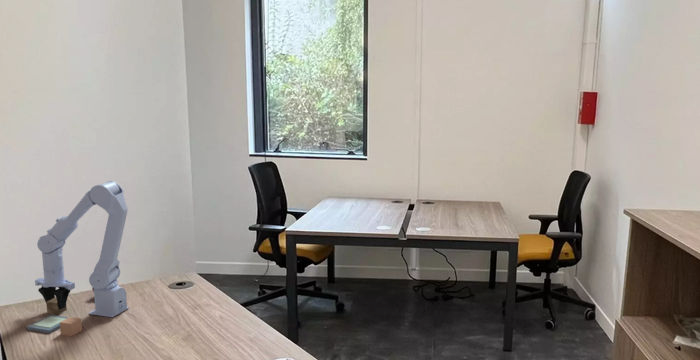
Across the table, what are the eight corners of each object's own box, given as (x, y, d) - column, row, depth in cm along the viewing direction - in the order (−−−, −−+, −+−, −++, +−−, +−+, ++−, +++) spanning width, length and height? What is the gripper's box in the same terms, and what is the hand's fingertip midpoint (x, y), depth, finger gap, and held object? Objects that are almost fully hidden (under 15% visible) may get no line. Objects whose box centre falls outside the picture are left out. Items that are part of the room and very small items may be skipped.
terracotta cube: (82, 330, 149) (81, 318, 149) (71, 336, 146) (70, 323, 145) (71, 328, 150) (70, 316, 150) (60, 334, 147) (59, 322, 146)
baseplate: (74, 321, 156) (73, 317, 155) (50, 333, 147) (49, 329, 147) (51, 317, 158) (51, 314, 158) (26, 329, 149) (26, 325, 149)
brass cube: (66, 309, 164) (65, 298, 164) (56, 314, 160) (55, 303, 160) (57, 308, 165) (56, 297, 165) (47, 313, 161) (46, 301, 161)
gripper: (25, 270, 159) (29, 309, 161) (61, 274, 155) (64, 314, 157) (44, 263, 165) (47, 301, 167) (78, 267, 162) (81, 306, 164)
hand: (56, 307), depth 163 cm, fingers closed on brass cube, 4 cm apart
